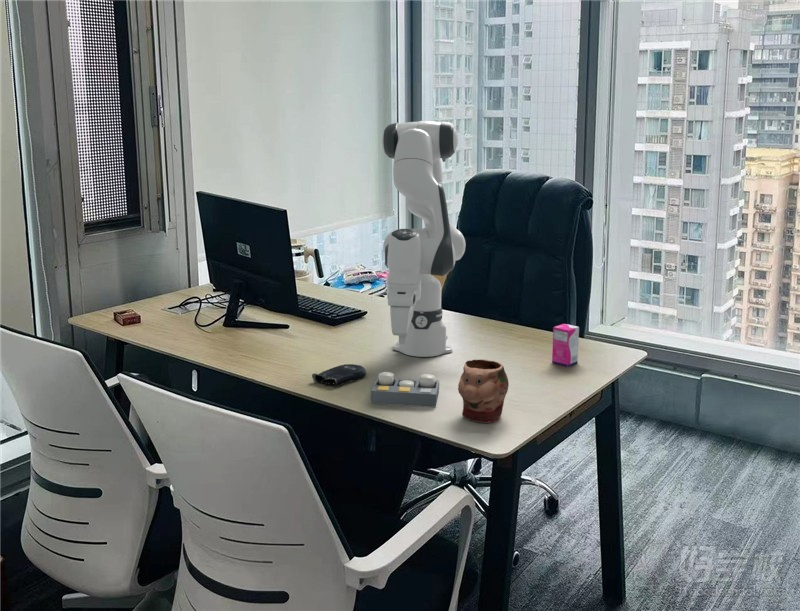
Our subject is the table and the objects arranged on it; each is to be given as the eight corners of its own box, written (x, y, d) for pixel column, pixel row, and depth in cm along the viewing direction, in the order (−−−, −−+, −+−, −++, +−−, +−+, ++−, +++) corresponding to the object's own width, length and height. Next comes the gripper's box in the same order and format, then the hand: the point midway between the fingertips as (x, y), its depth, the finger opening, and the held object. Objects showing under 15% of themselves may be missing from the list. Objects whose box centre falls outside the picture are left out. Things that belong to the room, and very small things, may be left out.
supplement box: (561, 358, 263) (564, 322, 260) (578, 363, 259) (580, 326, 256) (550, 362, 259) (553, 326, 256) (567, 367, 255) (569, 330, 252)
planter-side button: (420, 382, 230) (420, 373, 229) (435, 383, 229) (435, 374, 229) (419, 387, 226) (419, 378, 225) (434, 388, 225) (434, 379, 225)
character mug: (470, 398, 228) (472, 348, 224) (515, 404, 224) (517, 354, 220) (448, 424, 210) (450, 371, 206) (496, 432, 206) (499, 378, 202)
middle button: (400, 388, 231) (400, 379, 230) (414, 389, 230) (414, 380, 230) (398, 393, 227) (398, 384, 226) (413, 394, 226) (413, 385, 226)
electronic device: (339, 395, 234) (373, 374, 245) (335, 376, 232) (369, 355, 243) (314, 392, 239) (348, 371, 251) (309, 373, 238) (345, 353, 249)
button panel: (377, 389, 234) (377, 376, 233) (438, 392, 232) (439, 379, 231) (371, 403, 223) (371, 389, 222) (435, 407, 221) (436, 393, 220)
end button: (379, 380, 231) (379, 371, 230) (394, 381, 230) (394, 372, 230) (377, 385, 227) (377, 376, 226) (392, 386, 227) (392, 377, 226)
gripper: (396, 282, 232) (395, 331, 236) (387, 300, 212) (386, 353, 216) (419, 283, 232) (418, 332, 235) (412, 301, 212) (411, 354, 215)
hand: (402, 342), depth 225 cm, fingers closed
